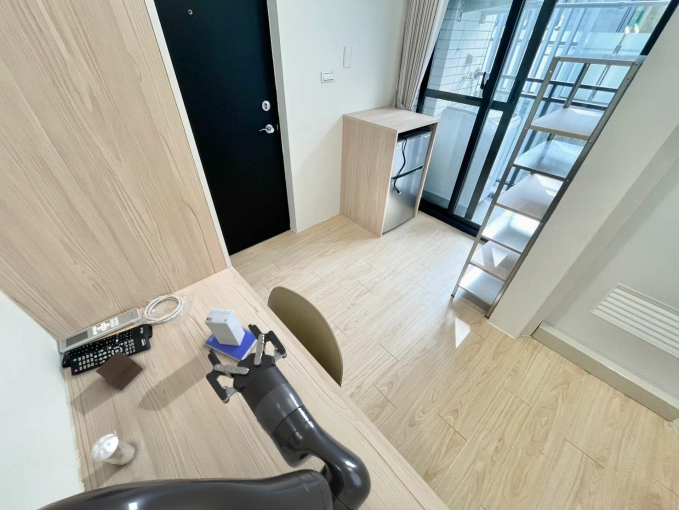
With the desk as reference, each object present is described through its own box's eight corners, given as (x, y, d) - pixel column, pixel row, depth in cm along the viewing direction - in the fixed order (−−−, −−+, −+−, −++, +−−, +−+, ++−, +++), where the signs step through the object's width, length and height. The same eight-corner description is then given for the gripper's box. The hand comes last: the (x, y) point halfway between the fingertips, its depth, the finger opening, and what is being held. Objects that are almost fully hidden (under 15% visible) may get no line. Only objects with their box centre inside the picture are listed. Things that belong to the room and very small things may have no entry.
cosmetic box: (245, 332, 78) (234, 308, 70) (239, 347, 75) (227, 324, 66) (224, 330, 78) (211, 306, 70) (218, 345, 75) (203, 321, 67)
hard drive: (204, 343, 76) (240, 360, 72) (224, 319, 81) (258, 334, 78) (206, 345, 77) (241, 362, 73) (225, 322, 82) (259, 337, 79)
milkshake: (146, 447, 59) (121, 436, 53) (121, 473, 56) (91, 465, 49) (134, 434, 61) (108, 422, 54) (109, 460, 58) (78, 450, 51)
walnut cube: (121, 390, 68) (110, 382, 64) (106, 379, 70) (94, 371, 66) (143, 369, 72) (133, 360, 68) (128, 359, 74) (118, 350, 70)
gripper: (304, 365, 49) (258, 309, 57) (231, 426, 41) (190, 351, 50) (307, 381, 54) (264, 327, 62) (242, 438, 47) (203, 369, 55)
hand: (231, 338), depth 56 cm, fingers open, 8 cm apart
